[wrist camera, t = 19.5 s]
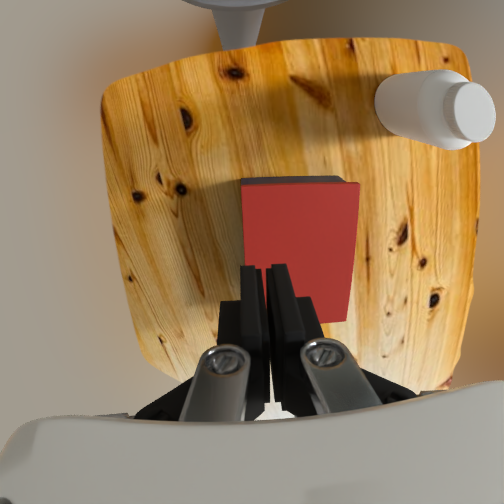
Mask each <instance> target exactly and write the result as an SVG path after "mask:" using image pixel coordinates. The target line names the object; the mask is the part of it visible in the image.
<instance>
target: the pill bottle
mask: <svg viewBox="0 0 504 504" xmlns="http://www.w3.org/2000/svg"><path fill="white" fill-rule="evenodd" d="M375 110H376V114H377V116H378V118H379V120H380V122H381V123H382V124H383V126H384V127H385V128H386V129H387V130H389V131H390V132H392V133H394V134H396V135H398V136H401V137H405V138H409V139H412V140H416V141H419V142H423V143H426V144H430V145H433V146H436V147H439V148H443V149H447V150H457V149H461V148H464V147H466V146H468V145H469V144H470V143H471V142H481V141H483V140H485V139H486V138H487V137H488V136H489V135H490V134H491V132H492V130H493V128H494V125H495V107H494V104H493V101H492V99H491V97H490V95H489V93H488V92H487V91H486V90H485V89H484V88H483V87H482V86H481V85H479V84H477V83H474V82H469V81H468V80H467V79H466V78H465V77H463V76H462V75H460V74H458V73H456V72H454V71H451V70H430V71H420V72H411V73H403V74H396V75H393V76H390V77H388V78H386V79H385V80H384V81H383V82H382V83H381V84H380V85H379V87H378V89H377V91H376V94H375Z"/></svg>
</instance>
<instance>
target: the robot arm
mask: <svg viewBox="0 0 504 504" xmlns="http://www.w3.org/2000/svg"><path fill="white" fill-rule="evenodd" d="M240 285H241V300H237V301H221V302H220V312H219V325H218V337H217V346H213V347H211V348H209V349H208V350H206V351H205V352H204V353H203V354H202V356H201V358H200V360H199V363H198V365H197V368H196V371H195V374H194V376H193V377H191V378H190V379H188V380H187V381H185V382H184V383H182V384H181V385H179V386H178V387H176V388H174V389H173V390H172V391H170V392H168V393H167V394H165V395H163V396H162V397H160V398H159V399H157V400H155V401H154V402H152V403H150V404H149V405H147V406H146V407H144V408H143V409H141V410H140V411H139V412H137V414H136V415H135V416H129V415H128V413H121V414H110V415H98V416H85V415H84V416H83V415H64V416H52V417H46V418H40V419H36V420H33V421H30V422H27V423H25V424H23V425H22V426H20V427H19V428H18V429H17V430H16V431H15V432H14V433H13V434H12V435H11V437H10V438H9V440H8V441H7V443H6V444H5V446H4V448H3V450H2V451H1V453H0V504H504V381H503V380H502V381H501V380H496V381H485V382H479V383H474V384H469V385H465V386H462V387H458V388H453V389H449V390H434V391H421V392H420V394H419V395H416V394H415V393H414V392H413V391H411V390H409V389H407V388H405V387H403V386H400V385H398V384H396V383H393V382H391V381H389V380H387V379H384V378H382V377H380V376H377V375H375V374H373V373H371V372H368V371H366V370H364V369H362V368H360V367H359V365H358V364H357V362H356V361H355V359H354V357H353V356H352V354H351V353H350V351H349V349H348V348H347V347H346V346H345V345H344V344H343V343H341V342H340V341H338V340H335V339H331V338H325V337H324V334H323V331H322V328H321V325H320V323H319V320H318V317H317V314H316V311H315V308H314V305H313V302H312V299H311V297H310V296H306V297H296V296H295V292H294V289H293V285H292V282H291V278H290V274H289V271H288V267H287V264H286V263H284V264H271V268H266V302H265V294H264V286H263V279H262V271H261V269H255V265H245V266H240ZM270 364H271V372H272V381H273V390H274V399H275V402H281V406H282V411H286V410H287V411H288V412H290V413H292V414H293V415H295V418H286V419H273V420H258V421H254V420H255V419H256V418H257V417H258V416H259V415H260V414H262V413H263V412H264V411H265V407H264V403H270Z"/></svg>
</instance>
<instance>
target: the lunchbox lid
mask: <svg viewBox="0 0 504 504" xmlns="http://www.w3.org/2000/svg"><path fill="white" fill-rule="evenodd" d="M359 195H360V184H359V183H358V182H311V183H273V184H248V185H241V201H242V220H243V239H244V258H245V265H255V269H261V271H262V279H263V286H264V294H265V302H266V268H271V264H284V263H286V264H287V267H288V271H289V274H290V278H291V282H292V285H293V289H294V292H295V296H296V297H306V296H310V297H311V299H312V302H313V305H314V308H315V311H316V314H317V317H318V320H319V323H320V324H321V323H332V322H342V321H346V318H347V311H348V304H349V297H350V290H351V282H352V273H353V265H354V255H355V245H356V235H357V223H358V210H359Z"/></svg>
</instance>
